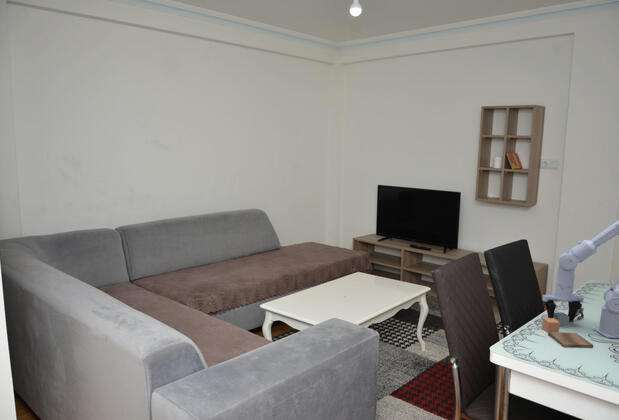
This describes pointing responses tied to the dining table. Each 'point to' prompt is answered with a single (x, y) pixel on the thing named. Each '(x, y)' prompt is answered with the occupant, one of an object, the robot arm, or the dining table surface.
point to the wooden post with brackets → (578, 314)
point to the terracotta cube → (550, 325)
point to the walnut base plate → (570, 340)
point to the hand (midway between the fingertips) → (560, 319)
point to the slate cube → (562, 319)
